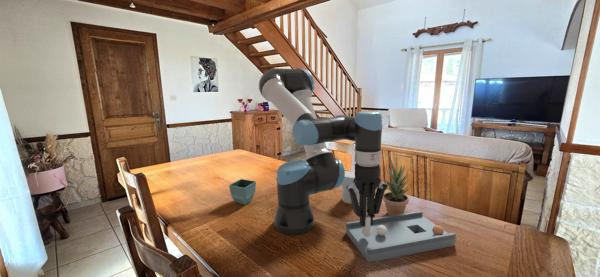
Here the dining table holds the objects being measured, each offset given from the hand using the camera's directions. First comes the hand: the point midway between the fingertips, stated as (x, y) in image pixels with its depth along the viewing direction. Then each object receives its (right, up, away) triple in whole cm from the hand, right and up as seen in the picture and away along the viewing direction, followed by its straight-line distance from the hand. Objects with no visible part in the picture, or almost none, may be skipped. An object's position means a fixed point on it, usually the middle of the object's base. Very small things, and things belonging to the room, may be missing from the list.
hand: (365, 234), depth 81 cm
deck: (+11, -3, +4) cm, 12 cm away
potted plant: (+17, 0, +20) cm, 26 cm away
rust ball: (+23, +1, +1) cm, 23 cm away
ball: (+6, +1, +1) cm, 6 cm away
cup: (+2, +3, +34) cm, 34 cm away
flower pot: (-46, +2, +35) cm, 58 cm away
